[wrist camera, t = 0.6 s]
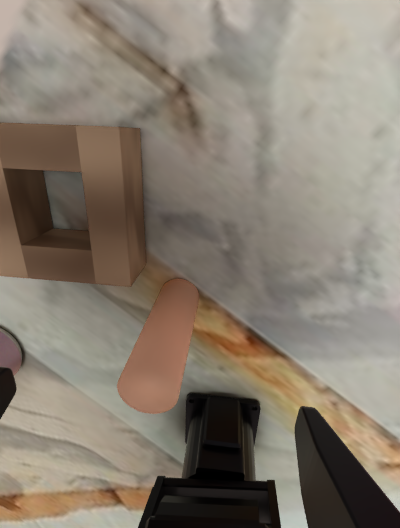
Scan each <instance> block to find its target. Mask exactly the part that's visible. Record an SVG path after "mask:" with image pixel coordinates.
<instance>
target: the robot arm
mask: <svg viewBox="0 0 400 528" xmlns="http://www.w3.org/2000/svg"><path fill="white" fill-rule="evenodd" d="M15 393H16V383H15V379H14V375H13V371H12V369H11V368H7V367H0V419H1V417H2V415H3V414H4V412H5V410H6V409H7V407H8V405H9V404H10V402H11V400H12V399H13V397H14V395H15ZM192 399H193V400H192ZM254 406H255V407H254ZM259 415H260V403H259V402H258V401H254V400H245V399H237V398H228V397H219V396H210V395H201V394H193V393H192V394H188V395H187V399H186V436H185V442H186V444H187V446H186V452H185V459H184V466H183V472H182V478H166V477H165V476H158V477H157V479H156V482H155V485H154V487H153V488H152V491H151V493H150V496H149V499H148V502H147V504H146V507H145V510H144V513H143V515H142V518H141V521H140V523H139V526H138V528H281V524H280V517H279V509H278V502H277V495H276V488H275V481H274V480H267V481H256V475H255V459H254V444H255V438H256V432H257V426H258V420H259ZM295 441H296V450H297V459H298V468H299V477H300V486H301V494H302V499H303V504H304V509H305V514H306V519H307V524H308V528H400V512H399V511H398V509H397V508H396V507H395V506H394V505H393V503H392V502H391V501H390V500H389V498H388V497H387V496H386V495H385V493H384V492H383V491H382V490H381V488H380V487H379V486H378V485H377V484H376V482H375V481H374V480H373V479H372V477H371V476H370V475H369V474H368V472H367V471H366V470H365V469H364V467H363V466H362V465H361V464H360V463H359V461H358V460H357V459H356V458H355V456H354V455H353V454H352V453H351V451H350V450H349V449H348V448H347V446H346V445H345V444H344V443H343V442H342V440H341V439H340V438H339V437H338V435H337V434H336V433H335V432H334V430H333V429H332V428H331V427H330V425H329V424H328V423H327V422H326V421H325V419H324V418H323V417H322V416H321V414H320V413H319V412H318V411H317V410H316V409H315V408H313V407H305V406H302V407H300V409H299V412H298V416H297V420H296V424H295Z"/></svg>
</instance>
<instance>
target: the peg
mask: <svg viewBox="0 0 400 528" xmlns="http://www.w3.org/2000/svg"><path fill="white" fill-rule="evenodd" d="M198 303H199V293H198V290H197V288H196V287H195V286H194V285H193V284H192V283H191V282H189V281H187V280H184V279H172V280H170V281H168V282H166V283H165V284H164V285H163V287H162V289H161V291H160V293H159V295H158V297H157V299H156V301H155V304H154V306H153V308H152V310H151V312H150V314H149V316H148V318H147V321H146V323H145V325H144V327H143V329H142V331H141V333H140V335H139V338H138V340H137V342H136V344H135V346H134V348H133V350H132V352H131V355H130V357H129V359H128V361H127V363H126V365H125V367H124V369H123V372H122V374H121V376H120V378H119V380H118V384H117V388H118V392H119V395H120V397H121V398H122V400H123V401H124V402H125V403H126V404H127V405H129V406H130V407H132V408H134V409H136V410H138V411H140V412H144V413H150V414H158V413H163V412H166V411H168V410H170V409H172V408H173V407H174V406H175V405H176V403H177V401H178V398H179V393H180V388H181V384H182V379H183V374H184V369H185V365H186V360H187V355H188V350H189V346H190V341H191V336H192V331H193V327H194V322H195V317H196V312H197V308H198Z"/></svg>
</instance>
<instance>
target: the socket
mask: <svg viewBox="0 0 400 528" xmlns="http://www.w3.org/2000/svg"><path fill="white" fill-rule="evenodd" d="M43 170H49V171H69V172H82V179H83V187H84V195H85V203H86V211H87V218H88V226H89V231H82V230H68V229H53V224H52V219H51V213H50V208H49V202H48V197H47V191H46V186H45V180H44V175H43ZM145 265H146V248H145V227H144V205H143V183H142V161H141V139H140V128H126V127H105V126H78V125H51V124H24V123H0V276H8V277H20V278H32V279H44V280H56V281H68V282H79V283H91V284H103V285H115V286H127V287H131V286H132V284H133V283H134V281H135V280H136V278H137V277H138V275H139V274H140V272H141V271H142V269H143V268H144V267H145Z"/></svg>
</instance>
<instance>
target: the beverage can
mask: <svg viewBox="0 0 400 528" xmlns="http://www.w3.org/2000/svg"><path fill="white" fill-rule="evenodd" d="M21 362H22V351H21V348H20V346H19V344H18V342H17V341H16V340H15V338H14V337H13V336H12V335H11V334H9V333H8V332H7V331H5V330H4V329H2V328H0V367H7V368H11V369H12V371H13V375H15V374H16V373H17V372H18V371H19V369H20V366H21Z"/></svg>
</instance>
